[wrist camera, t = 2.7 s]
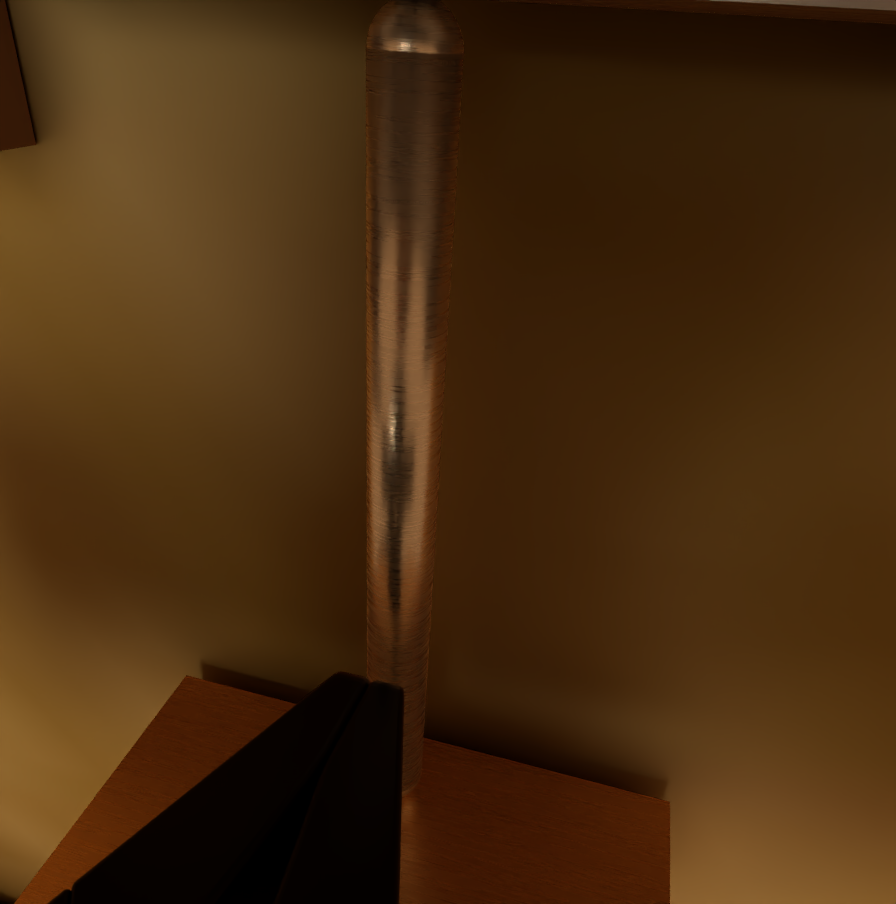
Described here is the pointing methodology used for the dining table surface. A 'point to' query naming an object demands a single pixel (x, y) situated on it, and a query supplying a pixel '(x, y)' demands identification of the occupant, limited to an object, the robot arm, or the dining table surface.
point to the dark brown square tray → (12, 92)
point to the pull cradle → (420, 544)
